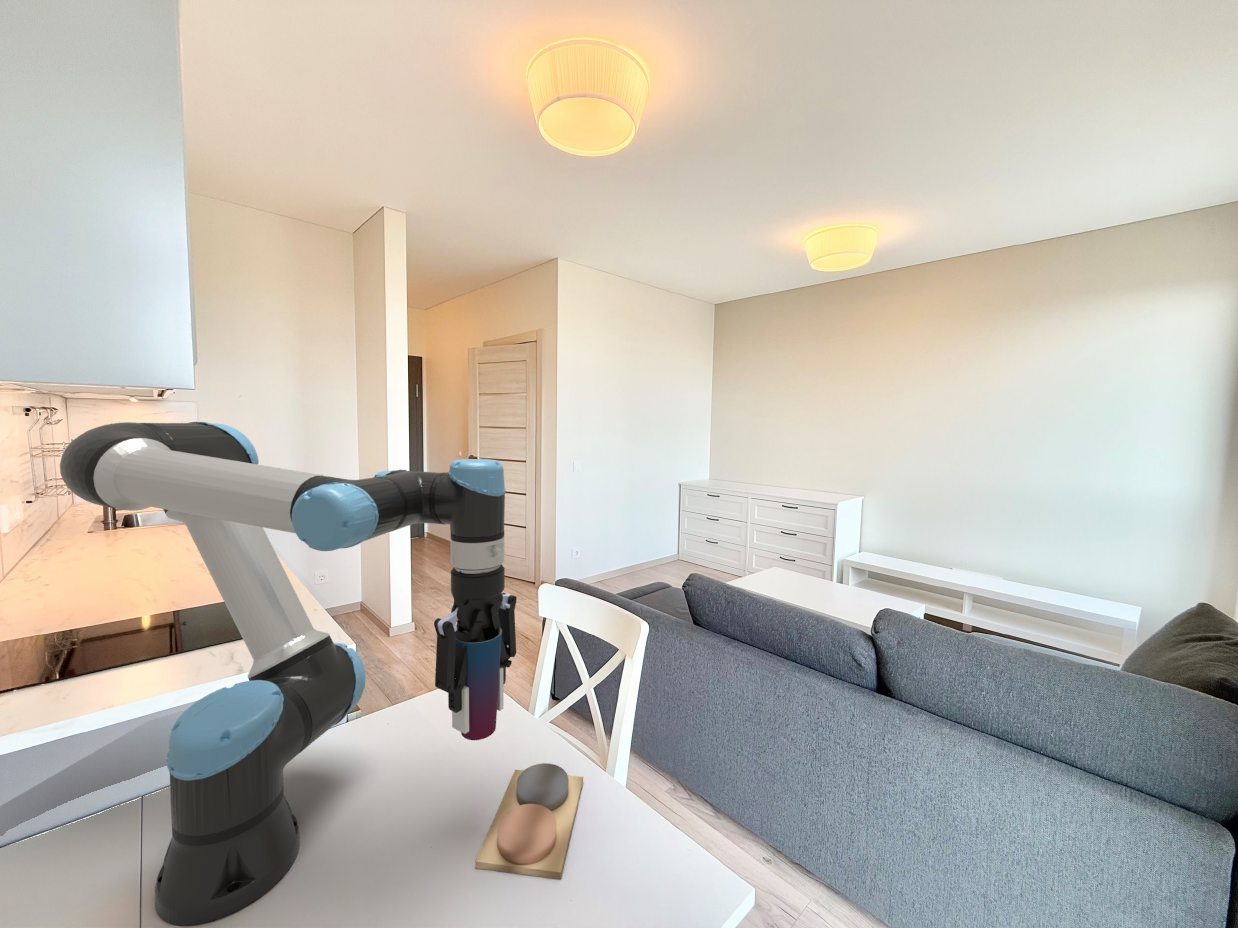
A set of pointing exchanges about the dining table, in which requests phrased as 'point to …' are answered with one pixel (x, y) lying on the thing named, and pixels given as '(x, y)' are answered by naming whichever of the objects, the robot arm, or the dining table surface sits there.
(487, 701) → the cup
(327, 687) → the robot arm
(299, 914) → the dining table surface
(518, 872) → the stand board
